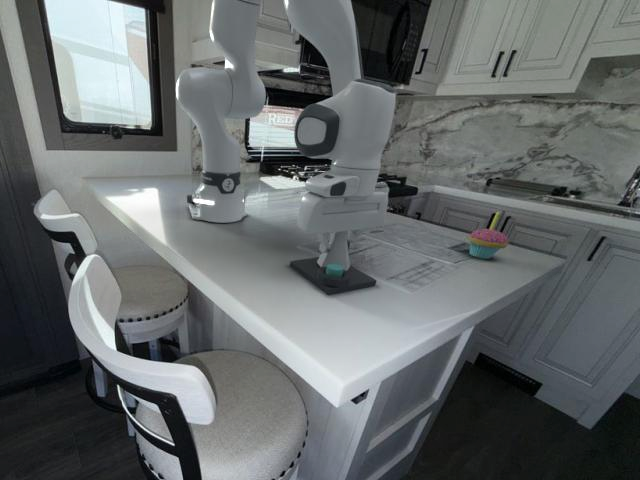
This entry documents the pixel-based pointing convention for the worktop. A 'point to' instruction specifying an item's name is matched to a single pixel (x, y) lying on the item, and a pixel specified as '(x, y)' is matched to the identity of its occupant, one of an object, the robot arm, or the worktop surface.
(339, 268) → the button
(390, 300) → the worktop surface
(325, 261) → the flask
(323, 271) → the black flat block
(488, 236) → the cupcake
